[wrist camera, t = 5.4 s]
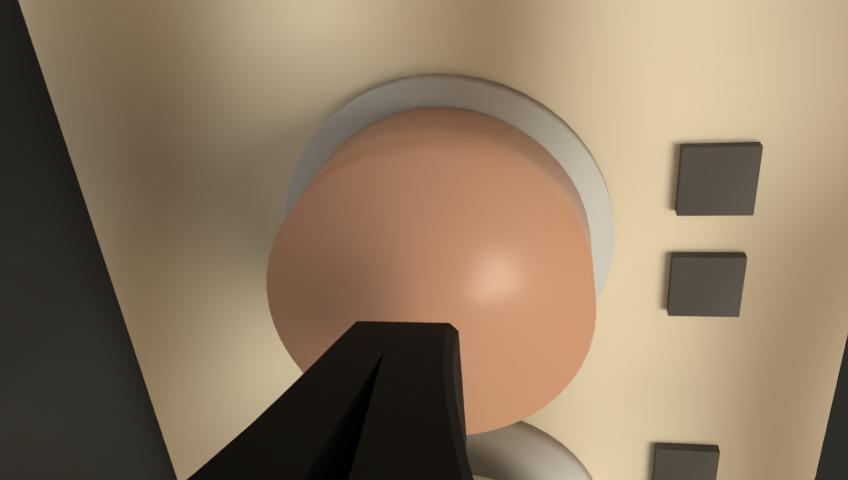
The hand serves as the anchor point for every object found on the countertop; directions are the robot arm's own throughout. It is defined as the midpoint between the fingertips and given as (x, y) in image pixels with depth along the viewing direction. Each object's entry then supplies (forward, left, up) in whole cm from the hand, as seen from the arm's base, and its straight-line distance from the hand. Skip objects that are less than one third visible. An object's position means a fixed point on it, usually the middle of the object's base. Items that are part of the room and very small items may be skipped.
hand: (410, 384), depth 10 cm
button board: (0, +7, -6) cm, 9 cm away
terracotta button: (0, 0, -4) cm, 4 cm away
